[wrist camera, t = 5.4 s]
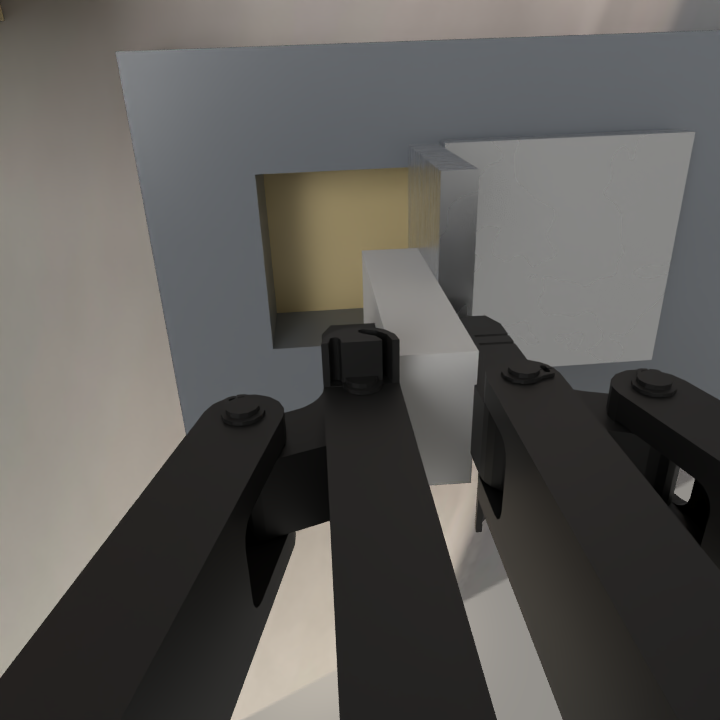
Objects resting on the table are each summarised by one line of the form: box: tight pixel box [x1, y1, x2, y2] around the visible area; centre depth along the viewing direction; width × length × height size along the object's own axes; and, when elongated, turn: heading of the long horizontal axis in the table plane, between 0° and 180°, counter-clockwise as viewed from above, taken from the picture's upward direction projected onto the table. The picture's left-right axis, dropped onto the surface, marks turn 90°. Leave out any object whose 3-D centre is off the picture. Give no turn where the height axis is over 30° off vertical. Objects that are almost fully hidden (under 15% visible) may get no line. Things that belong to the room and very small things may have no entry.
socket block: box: [116, 30, 720, 435], centre depth 21 cm, size 20×12×4 cm, turn 92°
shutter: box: [408, 129, 695, 367], centre depth 17 cm, size 8×7×5 cm
